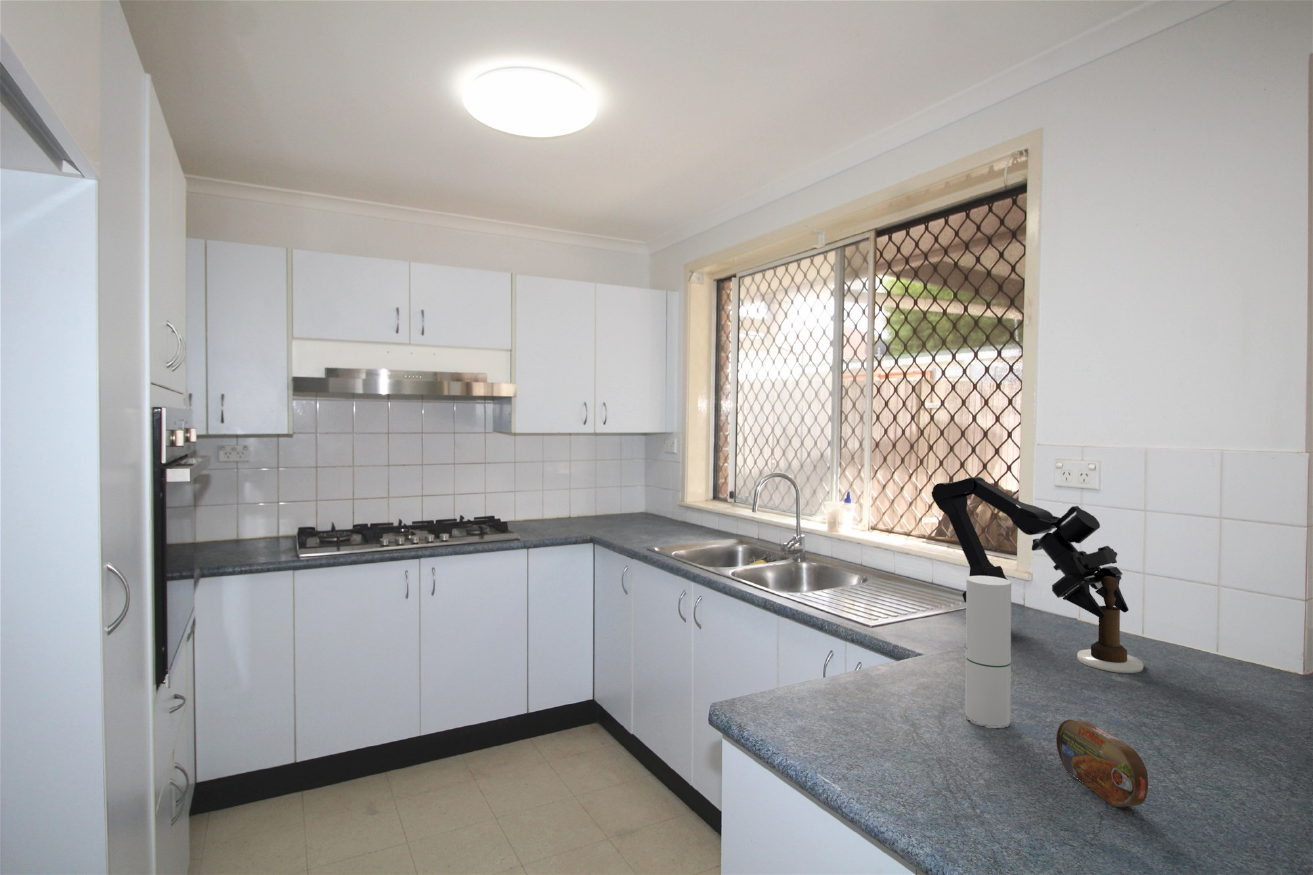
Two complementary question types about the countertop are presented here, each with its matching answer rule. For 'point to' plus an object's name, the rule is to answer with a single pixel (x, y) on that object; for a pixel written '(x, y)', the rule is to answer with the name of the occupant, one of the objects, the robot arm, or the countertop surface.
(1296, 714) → the countertop surface
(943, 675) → the countertop surface
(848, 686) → the countertop surface
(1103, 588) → the robot arm
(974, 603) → the cylindrical container
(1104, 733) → the tin
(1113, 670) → the cream plate
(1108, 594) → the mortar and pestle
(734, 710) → the countertop surface
